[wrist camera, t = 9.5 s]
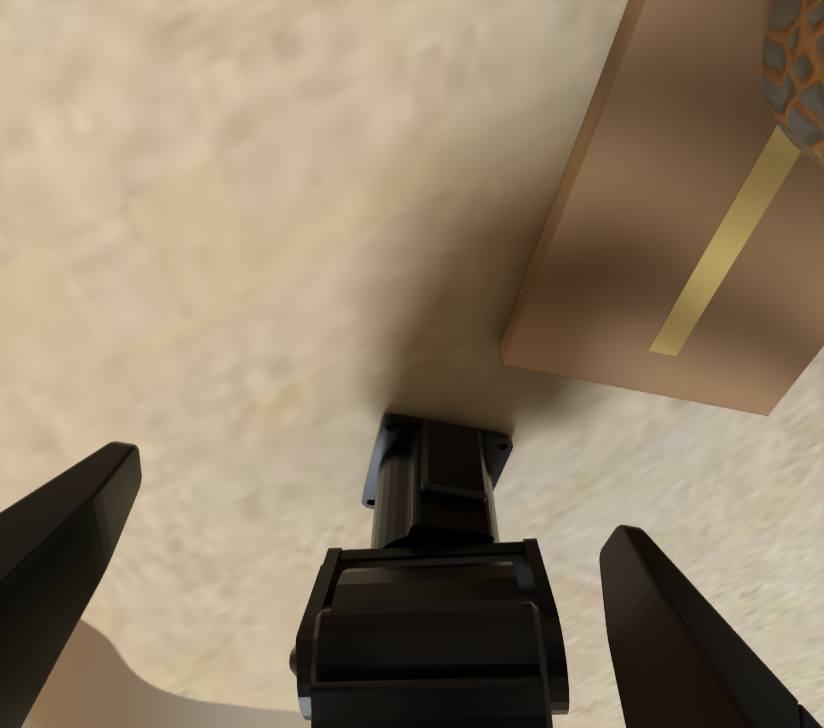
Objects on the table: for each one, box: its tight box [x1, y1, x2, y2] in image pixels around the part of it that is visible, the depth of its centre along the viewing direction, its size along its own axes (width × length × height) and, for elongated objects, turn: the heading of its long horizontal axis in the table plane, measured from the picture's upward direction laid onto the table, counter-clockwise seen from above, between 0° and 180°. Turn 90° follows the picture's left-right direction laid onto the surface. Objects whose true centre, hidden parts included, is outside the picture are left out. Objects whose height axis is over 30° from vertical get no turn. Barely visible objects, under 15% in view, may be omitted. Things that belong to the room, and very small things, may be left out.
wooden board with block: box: [500, 0, 824, 416], centre depth 16 cm, size 20×12×6 cm, turn 168°
